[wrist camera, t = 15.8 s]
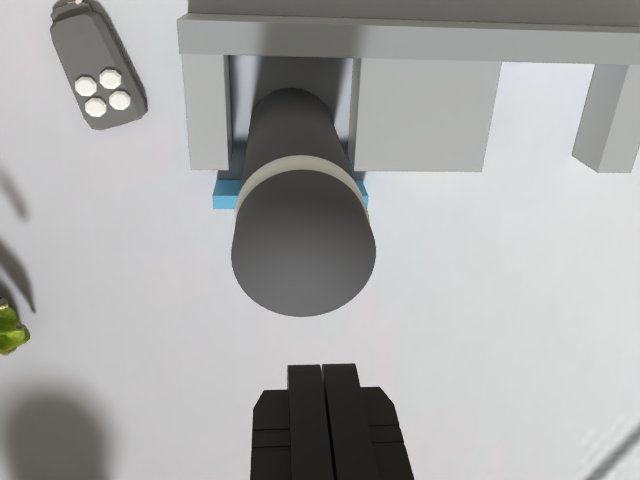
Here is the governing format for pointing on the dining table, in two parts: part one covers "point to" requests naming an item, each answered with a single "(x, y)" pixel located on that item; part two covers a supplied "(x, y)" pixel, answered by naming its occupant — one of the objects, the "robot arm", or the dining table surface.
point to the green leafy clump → (10, 329)
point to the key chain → (95, 67)
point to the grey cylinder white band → (299, 211)
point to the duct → (412, 86)
